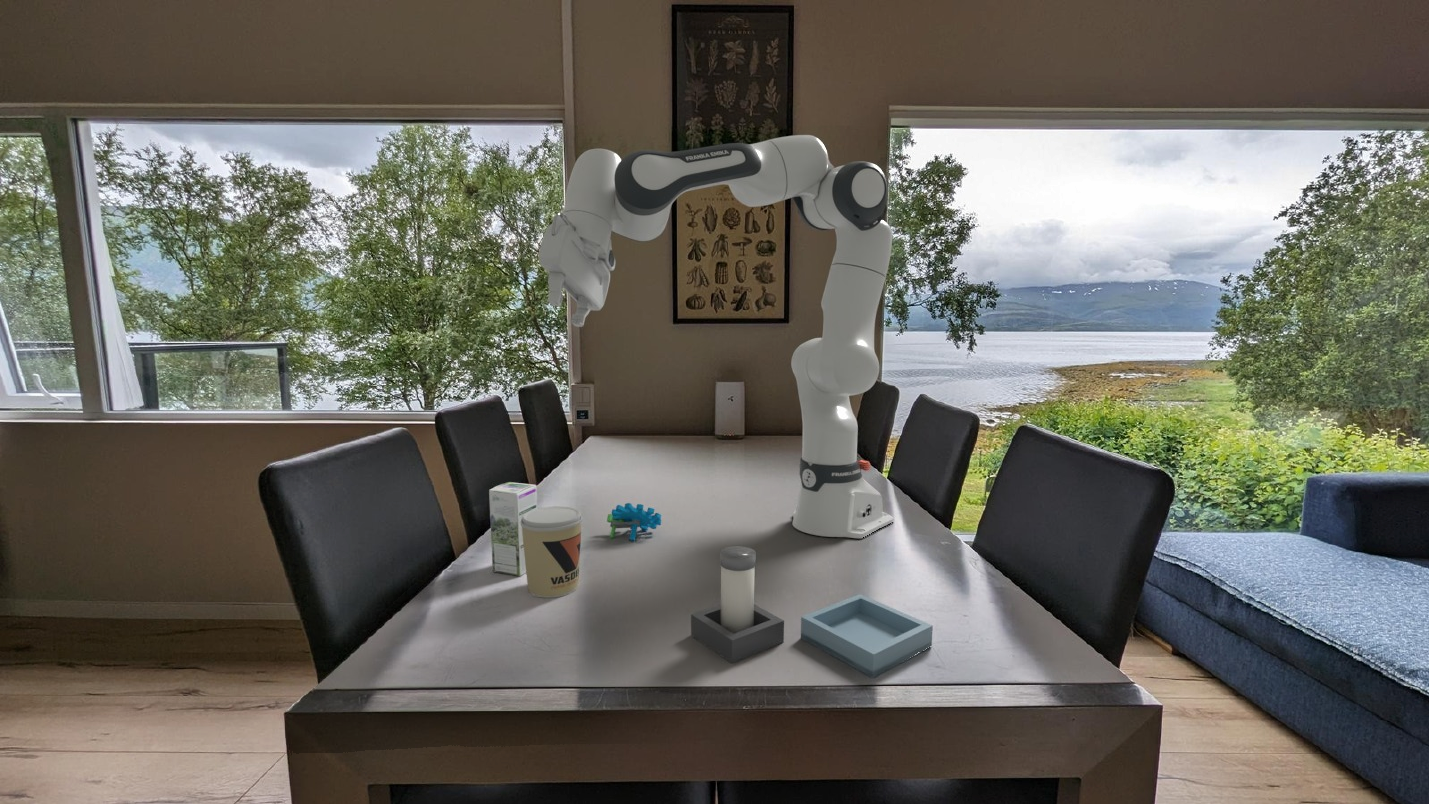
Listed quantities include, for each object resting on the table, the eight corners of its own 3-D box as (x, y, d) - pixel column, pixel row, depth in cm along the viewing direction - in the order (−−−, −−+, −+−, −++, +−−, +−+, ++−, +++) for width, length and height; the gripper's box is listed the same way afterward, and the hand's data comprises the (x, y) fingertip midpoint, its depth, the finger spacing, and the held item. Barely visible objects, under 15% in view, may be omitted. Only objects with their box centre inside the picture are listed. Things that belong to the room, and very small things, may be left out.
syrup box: (540, 564, 109) (538, 483, 107) (519, 577, 104) (516, 491, 102) (512, 560, 111) (510, 480, 109) (490, 572, 105) (487, 488, 104)
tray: (859, 613, 92) (859, 594, 91) (931, 647, 82) (932, 625, 82) (800, 638, 84) (801, 616, 84) (872, 678, 75) (873, 654, 75)
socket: (741, 617, 90) (741, 597, 90) (783, 642, 83) (784, 620, 83) (691, 635, 85) (691, 614, 85) (732, 663, 78) (732, 640, 78)
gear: (669, 523, 127) (651, 498, 120) (665, 550, 123) (646, 526, 116) (619, 525, 130) (599, 501, 123) (613, 552, 127) (592, 529, 119)
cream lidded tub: (552, 605, 94) (550, 527, 92) (509, 591, 98) (507, 516, 97) (595, 584, 101) (594, 511, 100) (554, 571, 106) (552, 502, 105)
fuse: (739, 627, 87) (740, 543, 86) (761, 640, 84) (762, 553, 82) (712, 636, 85) (713, 551, 83) (734, 651, 81) (735, 561, 79)
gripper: (576, 207, 97) (557, 291, 94) (618, 266, 116) (604, 337, 113) (539, 205, 98) (519, 287, 95) (587, 264, 118) (572, 334, 115)
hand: (566, 315), depth 104 cm, fingers open, 8 cm apart
